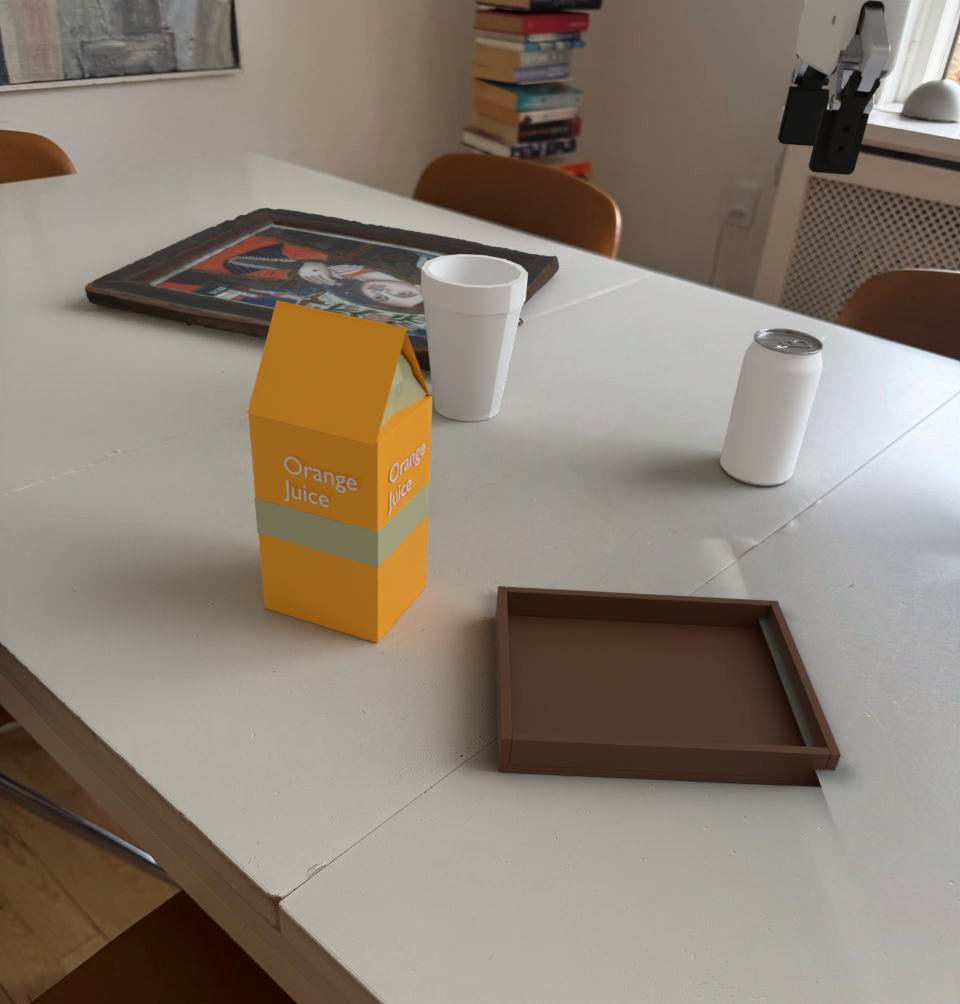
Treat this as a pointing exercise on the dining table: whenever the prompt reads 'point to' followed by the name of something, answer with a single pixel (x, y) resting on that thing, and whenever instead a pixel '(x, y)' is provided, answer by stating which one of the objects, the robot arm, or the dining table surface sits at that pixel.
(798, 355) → the can
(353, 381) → the orange juice
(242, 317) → the framed picture
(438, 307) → the foam cup
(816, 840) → the dining table surface
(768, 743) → the serving tray
